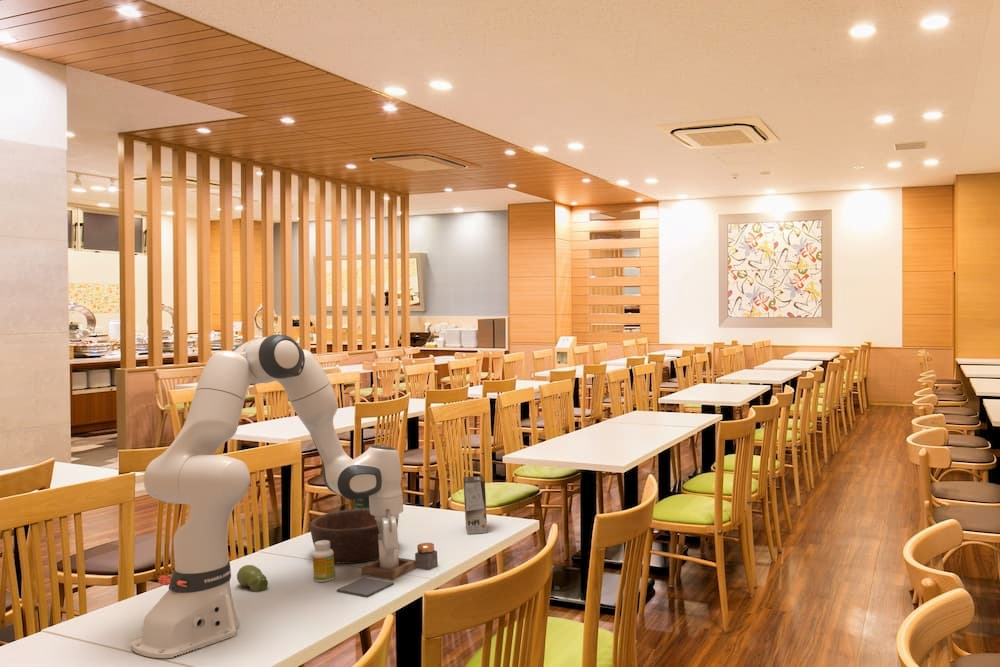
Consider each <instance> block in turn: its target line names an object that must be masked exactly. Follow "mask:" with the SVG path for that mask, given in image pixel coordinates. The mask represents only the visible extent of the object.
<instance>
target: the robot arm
mask: <svg viewBox="0 0 1000 667" xmlns="http://www.w3.org/2000/svg"><path fill="white" fill-rule="evenodd" d="M275 381H276V382H278V383H279V384H280V386H282V388H283V390H284V392H285V394H286V397H287V398H288V400H289V403H290V405H291V406H292V408H293V411H294V412H295V414H296V415H297V417H298V418H299V419H300V421H301V422H302V424H303V425H304V427H305V428H306V429H307V431H308V433H309V434H310V437H311V439H312V442H313V443H314V446H315V448H316V450H317V452H318V455H319V458H320V459H321V464H322V479H323V483H324V485H325V486H326V488H327V489H328V490H329V491H330V492H331V493H335V494H337V495H339V496H341V497H343V498H344V499H347V500H352V501H354V500H357V499H361V498H365V497H368V496H369V507H370V514H371V515H373V516H375V520H376V521H377V526H378V531H379V533H381V538H382V543H383V546H384V549H385V550H386V559H387V562H393V561H394V550H395V549H398V550H399V536H398V535H399V534H398V532H399V531H398V527H397V522H396V519H398V520H399V519H400V518H399V517H400V514H402V513H403V512H404V500H403V498H404V497H403V491H402V490H403V489H402V486H401V482H402V477H403V476H402V467H401V466H402V465H401V459H400V455H399V452H398V450H397V449H396V448H394V447H392V446H389V445H385V444H384V445H381V444H374V445H370V446H369V447H368V448H367V449H366V450H365V451H364V452H363V453H361V454H360V455H359V456H357V457H355V458H352V457H351V456H349V455H348V454H347V453H346V451H345V450H344V447H343V445H342V443H341V441H340V439H339V436H338V434H337V431H336V429H335V427H334V418H335V415H336V413H337V411H338V406H339V404H338V400H337V397H336V393H335V390H334V388H333V386H332V382H330V379H329V376H328V375H327V374H326V372H325V370H324V368H323V367H322V365H321V363H320V362H319V361H318V359H317V358H316V357H315V355H314V354H313V353H312V352H311V351H310V350H308V349H303V348H301V346H300V345H299V343H297V341H296V340H295V339H294V338H293V337H291V336H288V335H285V334H271V335H269V336H265V337H257V338H253V339H251V340H249V341H246V342H244V343H243V342H242V343H240V344H237V345H236V346H235V347H234V348H233V349H232V350H220V351H217V352H216V351H215V352H214V353H213V354H211V355H210V357H209V358H208V360H207V362H206V364H205V366H204V369H203V370H202V372H201V375H200V377H199V380H198V382H197V386H196V388H195V392H194V395H193V398H192V402H191V405H190V408H189V410H188V413H187V416H186V419H185V422H184V424H183V426H182V428H181V429H180V431H179V433H178V434H177V435H176V437H175V439H174V440H173V441H172V442H171V444H170V445H169V446H168V448H167V449H166V450H164V451H163V452H162V453H161V454H160V455H158V456H157V457H156V458H154V459H153V460H151V461H150V462H149V464H147V467H146V469H145V471H144V474H143V486H144V489H145V492H146V493H147V494H148V495H149V496H150V497H151V498H154V499H156V500H158V501H161V502H164V503H167V504H176V505H177V504H178V505H179V504H180V505H181V504H182V505H188V506H189V514H188V517H187V521H186V523H184V524H182V525H181V526H180V527H179V528H178V529H177V530H176V531H175V533H174V536H173V556H174V569H173V571H172V574H171V576H169V575H166V574H162V575H159V578H158V584H160V585H164V586H168V589H167V591H166V592H165V593H164V594H163V596H162V597H161V598H160V599H159V600H158V601H157V603H156V604H155V605H154V606H153V607H152V608H151V610H150V611H148V613H147V614H146V615H145V617H144V619H143V625H142V636H141V637H138V638H137V639H135V640H133V641H132V642H131V645H130V648H131V650H132V651H133V652H134V653H136V654H137V655H141V656H143V657H148V658H155V659H171V658H175V657H174V656H176V657H178V656H177V655H179V656H181V655H184V654H186V652H187V653H190V652H192V651H191V650H193V651H195V649H196V650H198V648H199V649H201V648H203V647H207V646H210V645H213V644H215V643H218V642H221V641H224V640H227V639H229V638H232V637H235V636H237V629H238V627H239V626H240V620H239V618H238V616H237V612H236V609H235V606H234V605H235V604H234V601H233V596H232V591H231V583H230V582H231V578H232V573H231V572H232V571H231V563H230V561H229V556H228V554H229V553H228V528H229V522H230V518H231V515H232V512H233V511H234V509H235V508H236V506H237V504H238V503H240V502H241V501H242V500H243V499H244V498H245V497H246V495H247V494H248V492H249V488H250V485H251V473H250V470H249V467H248V466H247V464H246V463H245V462H244V461H243V460H240V459H237V458H234V457H232V456H227V455H224V454H215V453H217V451H218V450H219V448H220V447H222V445H223V444H225V443H226V442H228V441H229V440H231V439H232V438H233V437H234V436H235V435H236V432H237V431H238V427H239V424H240V419H241V416H242V412H243V409H244V404H245V401H246V398H247V397H246V396H247V392H248V389H249V387H250V386H255V385H258V384H268V383H271V382H272V383H273V382H275ZM389 531H390V532H389ZM391 531H392V532H391ZM189 651H190V652H189ZM183 653H184V654H183ZM180 654H181V655H180Z"/></svg>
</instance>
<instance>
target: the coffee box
mask: <svg viewBox="0 0 1000 667" xmlns="http://www.w3.org/2000/svg"><path fill="white" fill-rule="evenodd" d="M462 479H463V481H462V482H463V495H464V496H463V498H464V501H463V503H464V514H465V516H464V518H465V529H466V534H467V535H477V534H478V535H479V534H486V533H488V521H487V520H488V519H487V501H486V500H487V499H486V481H485V479H484V476H483V475H477V476H476V475H475V476H465V477H463V478H462Z"/></svg>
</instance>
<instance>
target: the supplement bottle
mask: <svg viewBox="0 0 1000 667" xmlns="http://www.w3.org/2000/svg"><path fill="white" fill-rule="evenodd" d="M314 549H315V550H313V552H312V568H313V569H312V570H313V571H312V572H313V580H314V582H317V583H325V582H330V581H333V580H334V579H335V577H336V572H335V570H336V569H335V563H334V553H333V550H332V549H330V541H328V540H321V541H317V542H315V547H314Z"/></svg>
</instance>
